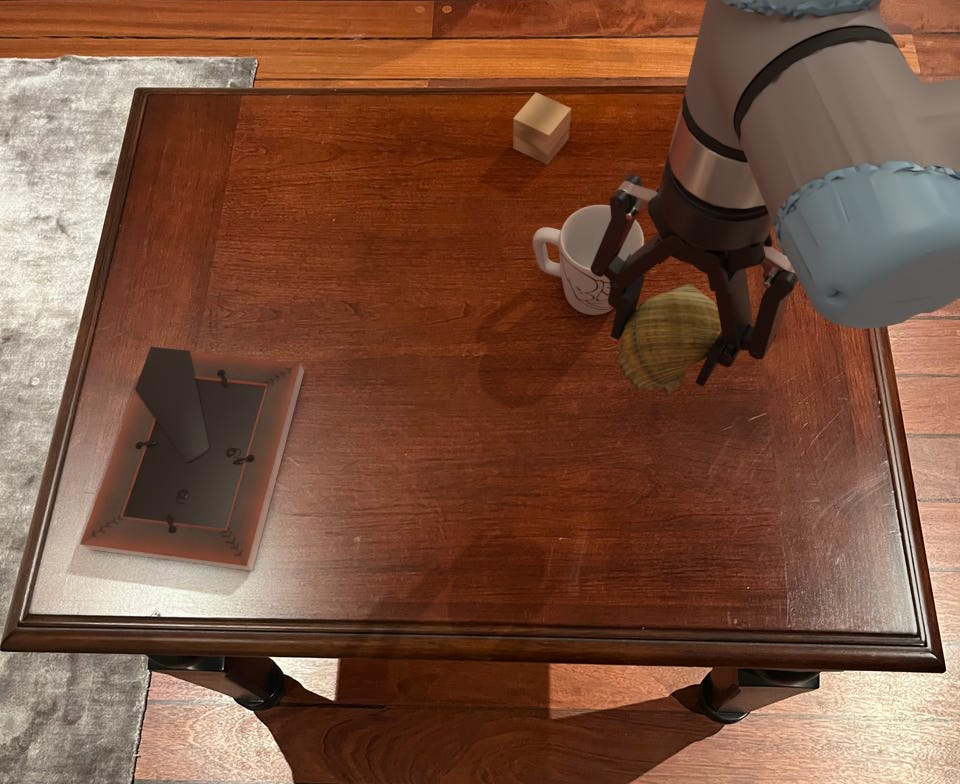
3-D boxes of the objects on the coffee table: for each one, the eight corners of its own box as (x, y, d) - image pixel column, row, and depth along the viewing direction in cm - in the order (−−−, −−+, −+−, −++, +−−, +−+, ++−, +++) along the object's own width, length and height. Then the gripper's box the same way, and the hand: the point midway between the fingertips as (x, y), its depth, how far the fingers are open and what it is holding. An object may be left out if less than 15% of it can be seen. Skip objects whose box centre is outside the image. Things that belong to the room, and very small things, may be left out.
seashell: (654, 409, 71) (728, 401, 64) (596, 385, 67) (668, 374, 60) (669, 307, 73) (742, 290, 66) (614, 279, 69) (685, 257, 63)
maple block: (568, 138, 99) (571, 108, 94) (547, 165, 97) (549, 135, 93) (534, 122, 100) (535, 92, 96) (513, 148, 99) (513, 118, 94)
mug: (518, 302, 89) (519, 248, 80) (545, 244, 92) (549, 186, 83) (616, 334, 86) (629, 283, 78) (640, 274, 90) (655, 218, 81)
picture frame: (159, 357, 87) (91, 550, 78) (150, 346, 85) (78, 543, 76) (305, 373, 86) (253, 571, 76) (300, 362, 83) (246, 565, 74)
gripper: (919, 195, 46) (792, 375, 67) (614, 61, 52) (584, 265, 72) (868, 287, 44) (753, 444, 64) (552, 135, 49) (539, 325, 70)
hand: (663, 349), depth 68 cm, fingers closed on seashell, 7 cm apart
